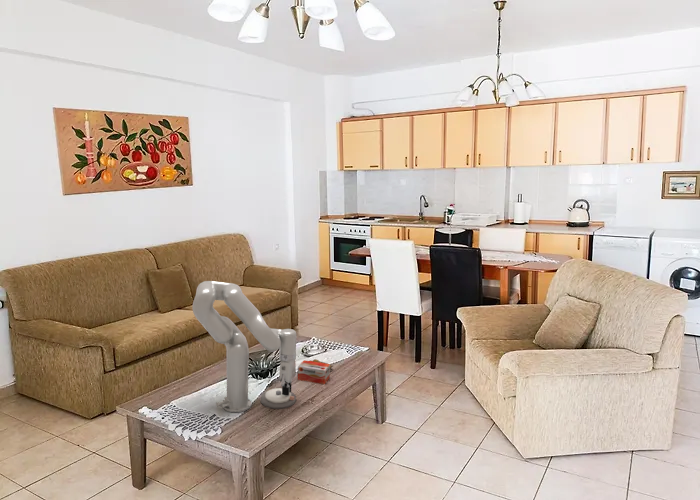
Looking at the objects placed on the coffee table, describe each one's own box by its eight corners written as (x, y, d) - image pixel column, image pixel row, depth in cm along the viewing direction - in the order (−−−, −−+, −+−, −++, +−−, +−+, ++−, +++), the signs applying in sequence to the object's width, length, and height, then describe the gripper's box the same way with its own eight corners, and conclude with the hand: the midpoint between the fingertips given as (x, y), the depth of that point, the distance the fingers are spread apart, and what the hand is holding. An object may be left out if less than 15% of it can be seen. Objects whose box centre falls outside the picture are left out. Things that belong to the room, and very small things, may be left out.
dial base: (272, 412, 230) (272, 404, 229) (254, 398, 242) (254, 390, 241) (302, 402, 240) (302, 394, 239) (283, 389, 252) (283, 382, 252)
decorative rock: (300, 369, 277) (323, 378, 269) (300, 362, 276) (323, 371, 268) (313, 362, 287) (335, 370, 279) (313, 355, 286) (335, 363, 278)
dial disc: (260, 400, 237) (261, 387, 236) (272, 389, 248) (272, 376, 247) (288, 405, 233) (288, 392, 232) (298, 394, 244) (299, 381, 243)
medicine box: (297, 380, 264) (297, 365, 262) (302, 374, 271) (303, 359, 270) (325, 385, 260) (325, 370, 258) (330, 378, 267) (330, 364, 266)
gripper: (289, 363, 227) (288, 402, 231) (300, 350, 243) (299, 387, 246) (273, 361, 229) (272, 400, 232) (285, 348, 244) (284, 384, 248)
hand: (286, 393), depth 239 cm, fingers open, 2 cm apart
